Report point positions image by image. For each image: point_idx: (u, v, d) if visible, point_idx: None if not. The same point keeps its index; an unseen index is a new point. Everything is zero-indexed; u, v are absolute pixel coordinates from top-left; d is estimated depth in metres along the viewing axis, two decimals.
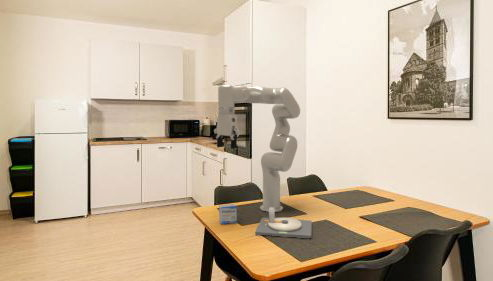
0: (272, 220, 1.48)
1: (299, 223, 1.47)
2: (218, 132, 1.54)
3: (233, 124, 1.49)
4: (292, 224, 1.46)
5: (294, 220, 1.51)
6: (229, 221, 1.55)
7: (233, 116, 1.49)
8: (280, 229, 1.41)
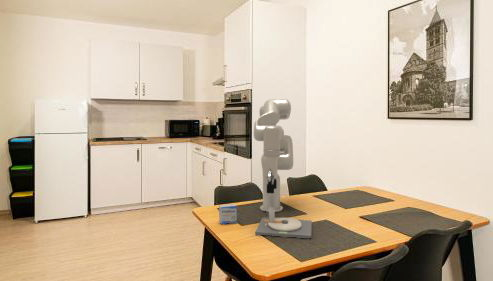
0: (272, 220, 1.48)
1: (299, 223, 1.47)
2: (275, 176, 1.43)
3: None
4: (292, 224, 1.46)
5: (294, 220, 1.51)
6: (229, 221, 1.55)
7: None
8: (280, 229, 1.41)
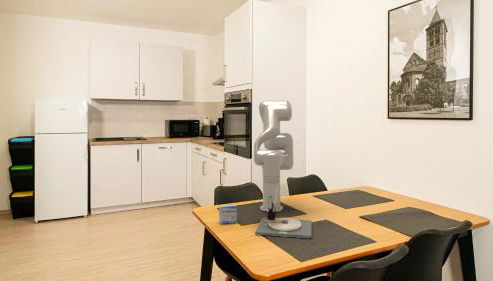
0: (272, 220, 1.48)
1: (299, 223, 1.47)
2: (275, 202, 1.44)
3: None
4: (292, 224, 1.46)
5: (294, 220, 1.51)
6: (229, 221, 1.55)
7: None
8: (280, 229, 1.41)
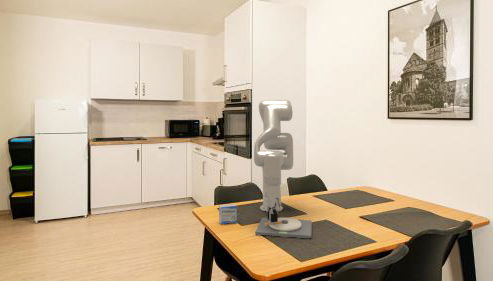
0: (274, 222, 1.45)
1: (298, 221, 1.50)
2: None
3: None
4: (293, 223, 1.47)
5: (290, 219, 1.53)
6: (229, 221, 1.55)
7: None
8: (288, 229, 1.40)
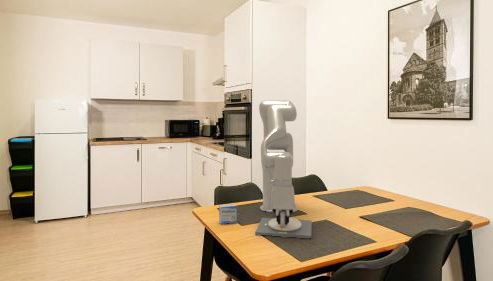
0: None
1: None
2: None
3: None
4: (289, 220, 1.51)
5: None
6: (229, 221, 1.55)
7: (272, 187, 1.41)
8: (300, 226, 1.45)
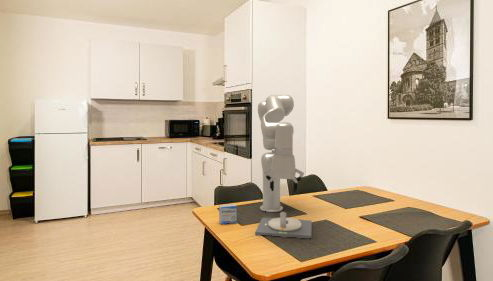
0: None
1: (285, 218, 1.54)
2: None
3: None
4: (288, 220, 1.51)
5: (277, 219, 1.53)
6: (229, 221, 1.55)
7: None
8: (300, 226, 1.45)
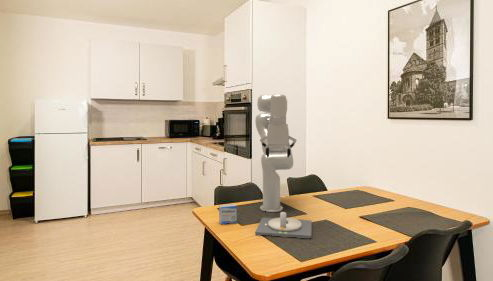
0: None
1: (285, 218, 1.54)
2: None
3: None
4: (288, 220, 1.51)
5: (277, 219, 1.53)
6: (229, 221, 1.55)
7: None
8: (300, 226, 1.45)
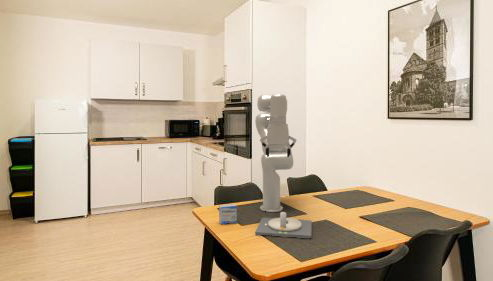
0: None
1: (285, 218, 1.54)
2: None
3: None
4: (288, 220, 1.51)
5: (277, 219, 1.53)
6: (229, 221, 1.55)
7: None
8: (300, 226, 1.45)
